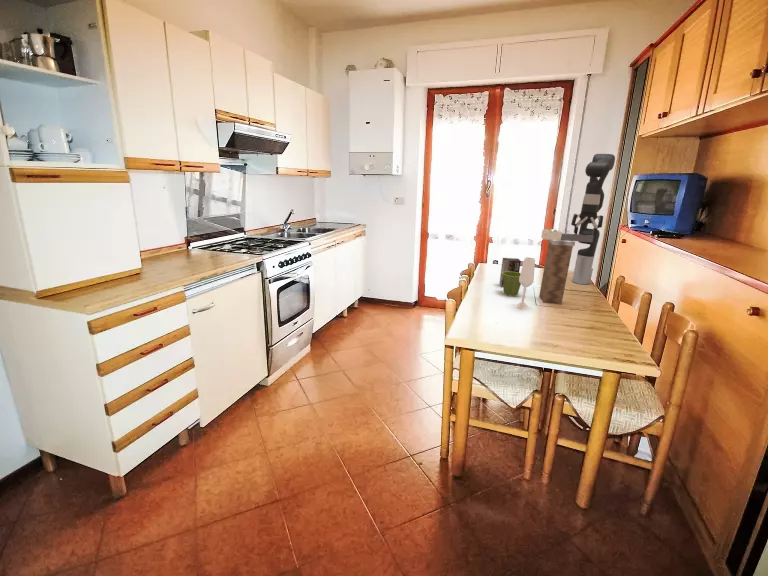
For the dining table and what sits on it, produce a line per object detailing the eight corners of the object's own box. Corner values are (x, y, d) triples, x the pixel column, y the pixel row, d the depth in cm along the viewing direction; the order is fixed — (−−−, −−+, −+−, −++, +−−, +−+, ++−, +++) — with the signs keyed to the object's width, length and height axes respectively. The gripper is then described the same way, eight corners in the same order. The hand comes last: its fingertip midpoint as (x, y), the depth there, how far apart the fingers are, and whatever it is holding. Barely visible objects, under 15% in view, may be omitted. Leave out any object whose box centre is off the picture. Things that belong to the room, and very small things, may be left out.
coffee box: (514, 285, 223) (518, 258, 218) (517, 288, 217) (521, 260, 212) (498, 284, 224) (502, 257, 219) (500, 287, 218) (504, 259, 213)
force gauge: (589, 240, 189) (591, 231, 188) (593, 242, 184) (595, 233, 183) (541, 237, 192) (542, 228, 191) (543, 239, 188) (545, 229, 186)
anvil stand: (557, 298, 202) (568, 238, 193) (562, 304, 193) (575, 242, 183) (537, 296, 204) (548, 237, 194) (542, 302, 194) (553, 240, 185)
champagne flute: (512, 305, 188) (519, 258, 180) (518, 302, 192) (525, 256, 185) (525, 309, 183) (533, 260, 176) (531, 306, 188) (539, 258, 181)
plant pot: (525, 294, 207) (528, 274, 203) (515, 298, 198) (519, 278, 195) (505, 289, 214) (508, 269, 211) (495, 293, 206) (497, 273, 203)
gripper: (603, 203, 197) (596, 234, 202) (574, 202, 200) (568, 232, 205) (608, 204, 190) (601, 237, 195) (577, 202, 193) (571, 234, 197)
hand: (584, 234), depth 200 cm, fingers open, 8 cm apart
